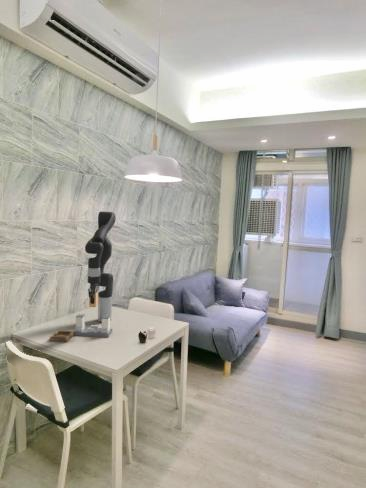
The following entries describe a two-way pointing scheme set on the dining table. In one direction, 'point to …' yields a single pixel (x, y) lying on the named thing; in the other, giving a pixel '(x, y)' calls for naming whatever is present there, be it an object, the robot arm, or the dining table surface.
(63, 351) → the dining table surface
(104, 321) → the fuse block
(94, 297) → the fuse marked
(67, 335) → the tray
